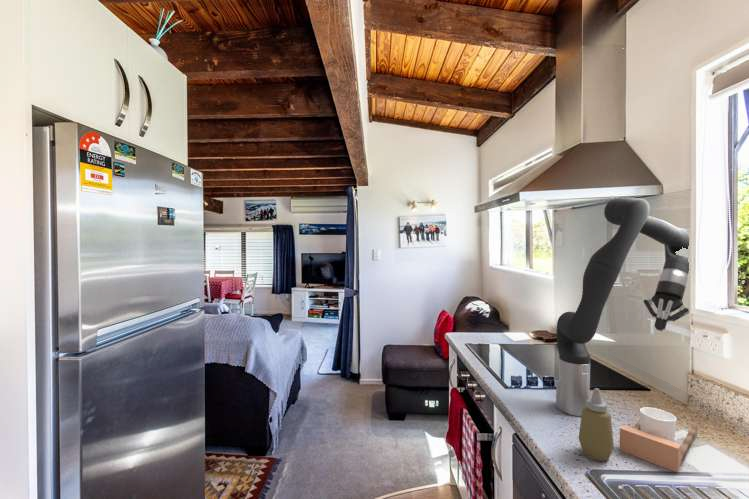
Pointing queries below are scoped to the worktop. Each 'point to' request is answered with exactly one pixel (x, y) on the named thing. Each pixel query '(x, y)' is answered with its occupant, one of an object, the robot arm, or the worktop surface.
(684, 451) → the rails
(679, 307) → the robot arm
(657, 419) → the white cup
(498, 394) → the worktop surface
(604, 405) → the squeeze bottle
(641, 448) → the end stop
